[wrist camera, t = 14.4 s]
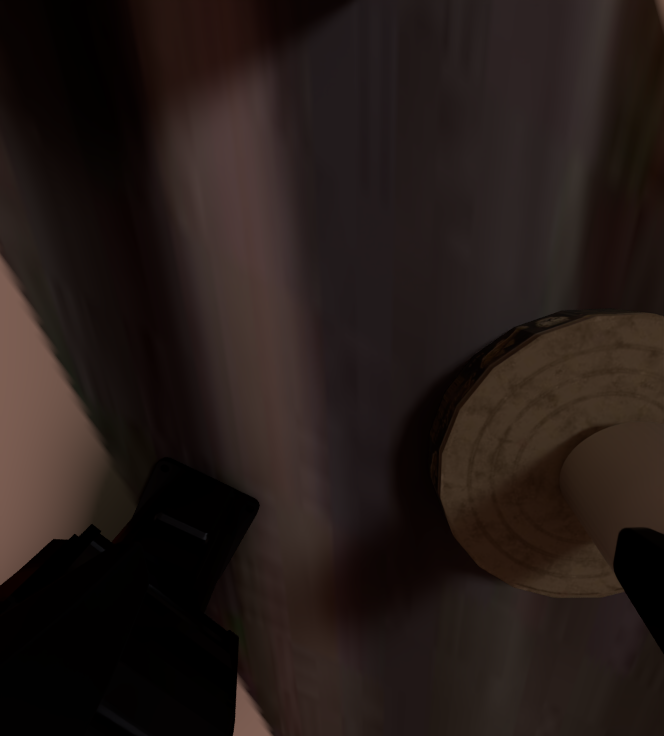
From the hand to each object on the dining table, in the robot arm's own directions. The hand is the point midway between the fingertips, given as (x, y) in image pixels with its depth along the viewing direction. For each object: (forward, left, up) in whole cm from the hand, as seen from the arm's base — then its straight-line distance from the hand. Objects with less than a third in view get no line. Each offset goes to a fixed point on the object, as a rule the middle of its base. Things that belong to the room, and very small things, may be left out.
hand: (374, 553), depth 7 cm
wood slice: (+2, -13, -14) cm, 19 cm away
